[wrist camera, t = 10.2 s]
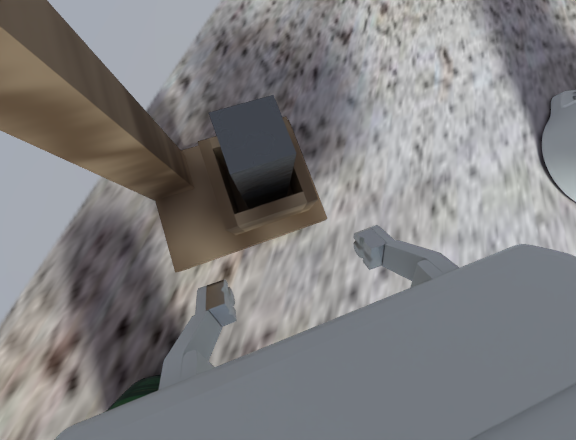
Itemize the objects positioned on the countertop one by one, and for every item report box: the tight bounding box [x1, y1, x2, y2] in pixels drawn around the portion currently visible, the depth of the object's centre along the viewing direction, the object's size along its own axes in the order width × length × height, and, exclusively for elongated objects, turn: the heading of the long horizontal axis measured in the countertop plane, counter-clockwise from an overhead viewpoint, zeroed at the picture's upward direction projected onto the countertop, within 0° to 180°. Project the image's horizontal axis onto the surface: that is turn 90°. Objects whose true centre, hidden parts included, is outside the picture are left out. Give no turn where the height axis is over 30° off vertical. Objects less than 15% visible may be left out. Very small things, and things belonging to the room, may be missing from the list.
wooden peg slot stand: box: [0, 0, 327, 272], centre depth 13 cm, size 16×12×19 cm
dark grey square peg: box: [209, 95, 296, 209], centre depth 17 cm, size 4×4×10 cm
